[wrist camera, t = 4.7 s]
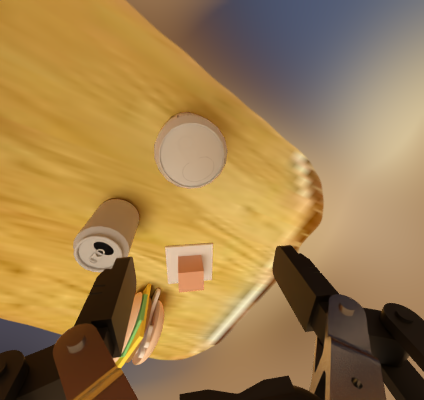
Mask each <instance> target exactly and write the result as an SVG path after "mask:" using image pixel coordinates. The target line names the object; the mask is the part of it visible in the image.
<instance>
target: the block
mask: <svg viewBox="0 0 424 400" xmlns="http://www.w3.org/2000/svg"><path fill="white" fill-rule="evenodd" d="M178 282H179V292H187V291H197V290H204V269H203V263H202V256H201V255H191V256H178Z"/></svg>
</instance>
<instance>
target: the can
mask: <svg viewBox="0 0 424 400" xmlns="http://www.w3.org/2000/svg"><path fill="white" fill-rule="evenodd" d="M138 223H139V213H138V211H137V209H136V208H135V207H134V206H133V205H132V204H131V203H129V202H127V201H125V200H120V199H111V200H108V201H105V202H104V203H103V204H101V205H100V206H99V208H98V209H97V210H96V211H95V213H94V214H93V215H92V217H91V218H90V219H89V221H88V222H87V223H86V224H85V226H84V227H83V228H82V230H81V231H80V232H79V233H78V235H77V236H76V238H75V240H74V246H73V248H74V256H75V260H76V261H77V262H78V263H79V265H81V266H82V267H83V268H85V269H87V270H90V271H93V272H103V271H104V270H105V269H111V268H112V267H113V265H114V262H115V260H116V258H121V257H127V256H128V254H129V251H130V248H131V245H132V242H133V239H134V236H135V233H136V230H137V227H138Z"/></svg>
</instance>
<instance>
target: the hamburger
mask: <svg viewBox="0 0 424 400" xmlns="http://www.w3.org/2000/svg"><path fill="white" fill-rule="evenodd" d="M150 290H151V284H148V285H147V286H146V288H145V289H144V291H143V292H142V293H141V292H139V293H137V294H136V295H135V297H134V301H133V305H132V310H131V314H130V319H129V323H128V328H127V332H126V337H125V341H124V345H123V350H122V354H121V357H117V358H113V360H114V362H115V364H116V365H117V367H118V368H121V367H122V366H123V365H124V363H128V362H129V361H130V360H131V359H133V363H134V364H135V365H138V364H141V363H142V362H143V361H145V360H146V359H147V358H148V357H149V356H150V354H151V353H152V351H153V350H154V348H155V346H156V344H157V342H158V340H159V337H160V335H161V331H162V328H163V322H164V308H163V305H162V303H161V301H159V300H158V298H159V295H160V291H161V289H158V288H157V289H156V291H155V293H154V295H153V297H152V299H151V298H150V297H149V296H150Z"/></svg>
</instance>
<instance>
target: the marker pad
mask: <svg viewBox="0 0 424 400" xmlns="http://www.w3.org/2000/svg"><path fill="white" fill-rule="evenodd" d="M165 250H166V263H167V275H168V284H173V283H179V282H178V256H191V255H201V256H202V263H203V269H204V280H212V256H213V243H206V244H191V245H177V246H165Z"/></svg>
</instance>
